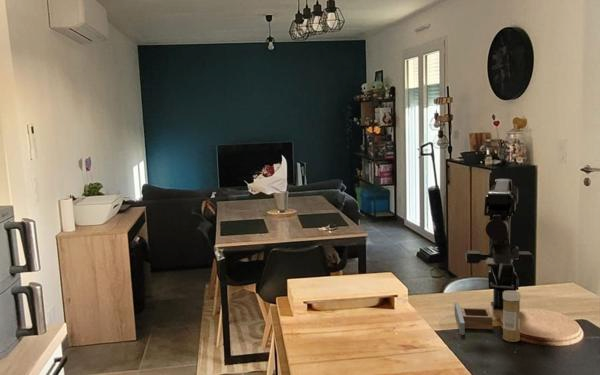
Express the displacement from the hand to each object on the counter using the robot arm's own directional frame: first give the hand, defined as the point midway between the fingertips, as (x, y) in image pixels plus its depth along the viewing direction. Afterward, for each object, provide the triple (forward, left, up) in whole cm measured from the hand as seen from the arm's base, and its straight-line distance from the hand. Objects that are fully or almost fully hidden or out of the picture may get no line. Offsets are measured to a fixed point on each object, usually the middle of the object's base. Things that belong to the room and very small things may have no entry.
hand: (498, 285), depth 163 cm
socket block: (0, -6, -12) cm, 14 cm away
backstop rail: (0, -11, -12) cm, 16 cm away
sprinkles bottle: (+12, +2, -12) cm, 17 cm away
